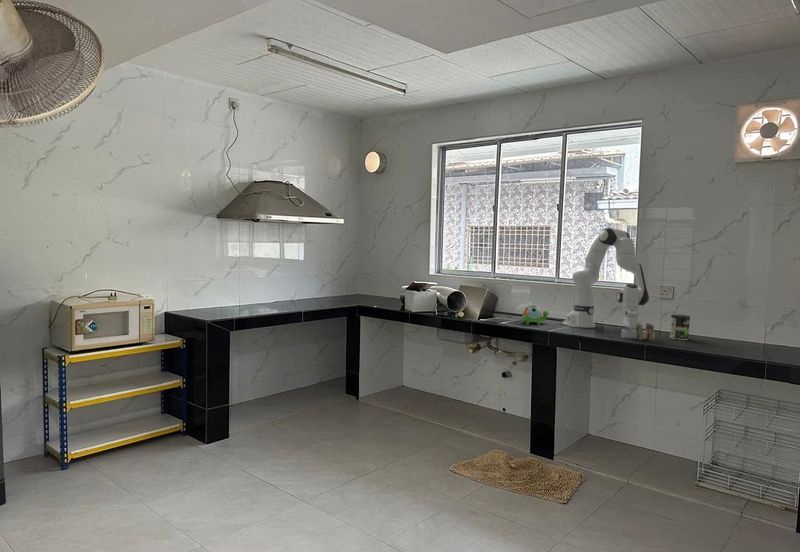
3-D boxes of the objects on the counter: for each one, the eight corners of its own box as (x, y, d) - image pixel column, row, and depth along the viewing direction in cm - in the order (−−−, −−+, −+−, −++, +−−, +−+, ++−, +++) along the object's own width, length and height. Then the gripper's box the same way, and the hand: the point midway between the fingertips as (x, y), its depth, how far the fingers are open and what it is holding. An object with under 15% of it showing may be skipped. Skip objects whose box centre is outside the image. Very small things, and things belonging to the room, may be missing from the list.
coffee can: (692, 339, 334) (693, 316, 333) (682, 340, 329) (684, 317, 328) (675, 336, 343) (677, 313, 342) (666, 338, 337) (667, 315, 336)
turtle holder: (551, 325, 377) (551, 307, 376) (524, 324, 376) (525, 307, 375) (545, 322, 389) (546, 305, 388) (520, 321, 388) (520, 304, 387)
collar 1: (638, 339, 329) (639, 325, 329) (634, 336, 340) (635, 322, 339) (642, 339, 329) (643, 325, 328) (638, 336, 340) (638, 322, 339)
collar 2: (649, 340, 328) (650, 326, 328) (645, 337, 339) (645, 323, 338) (653, 340, 328) (653, 326, 327) (648, 337, 339) (649, 323, 338)
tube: (622, 338, 334) (623, 330, 334) (621, 336, 339) (621, 329, 338) (654, 339, 331) (655, 332, 330) (652, 338, 335) (653, 330, 335)
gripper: (621, 308, 345) (620, 330, 346) (628, 313, 325) (626, 336, 326) (632, 309, 344) (630, 331, 345) (639, 313, 324) (638, 337, 325)
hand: (628, 333), depth 335 cm, fingers closed on tube, 4 cm apart
